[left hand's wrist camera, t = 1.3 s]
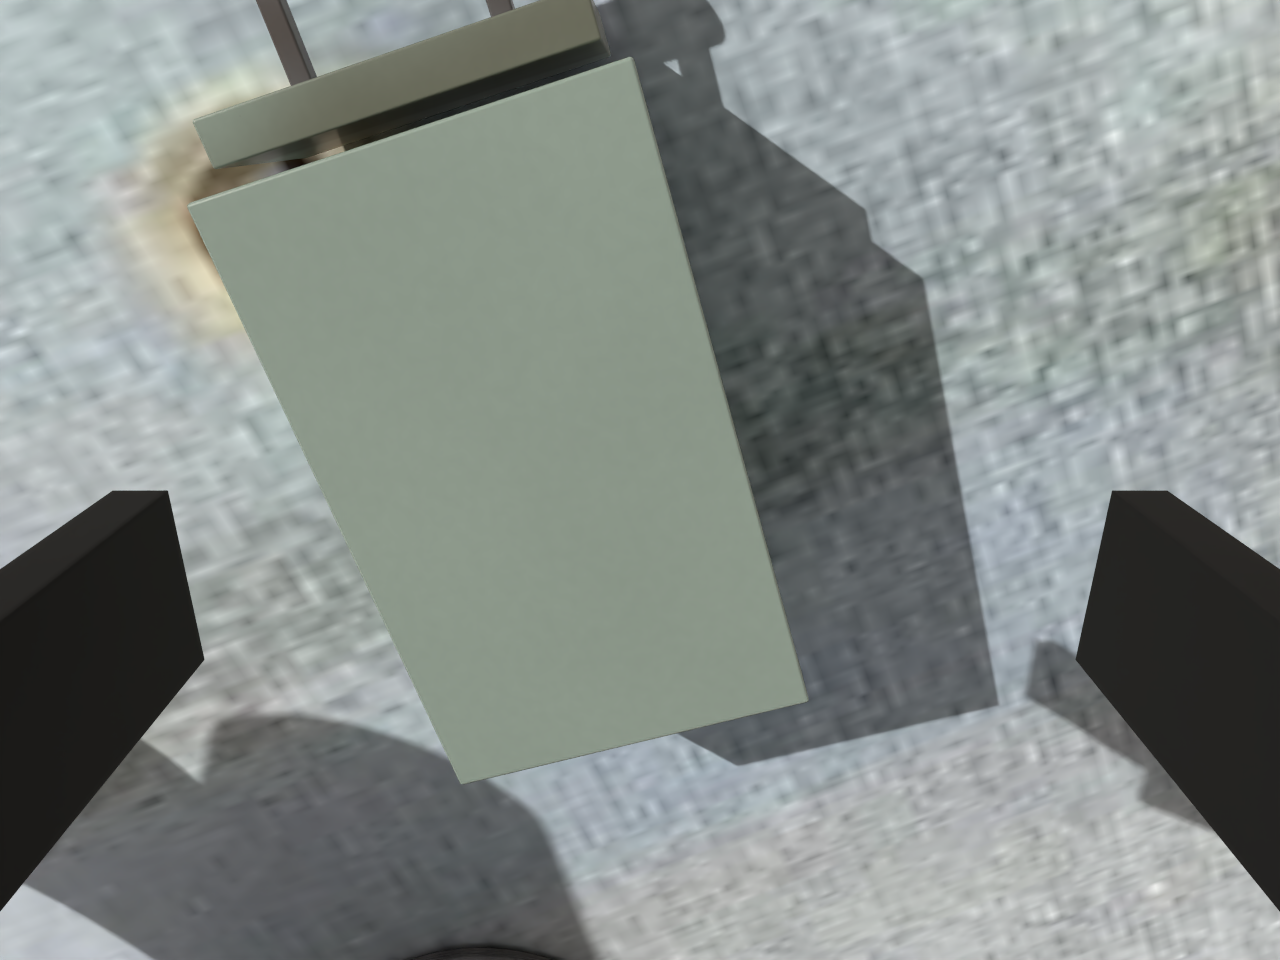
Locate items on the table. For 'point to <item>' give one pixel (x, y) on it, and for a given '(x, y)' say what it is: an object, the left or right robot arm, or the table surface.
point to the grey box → (518, 421)
